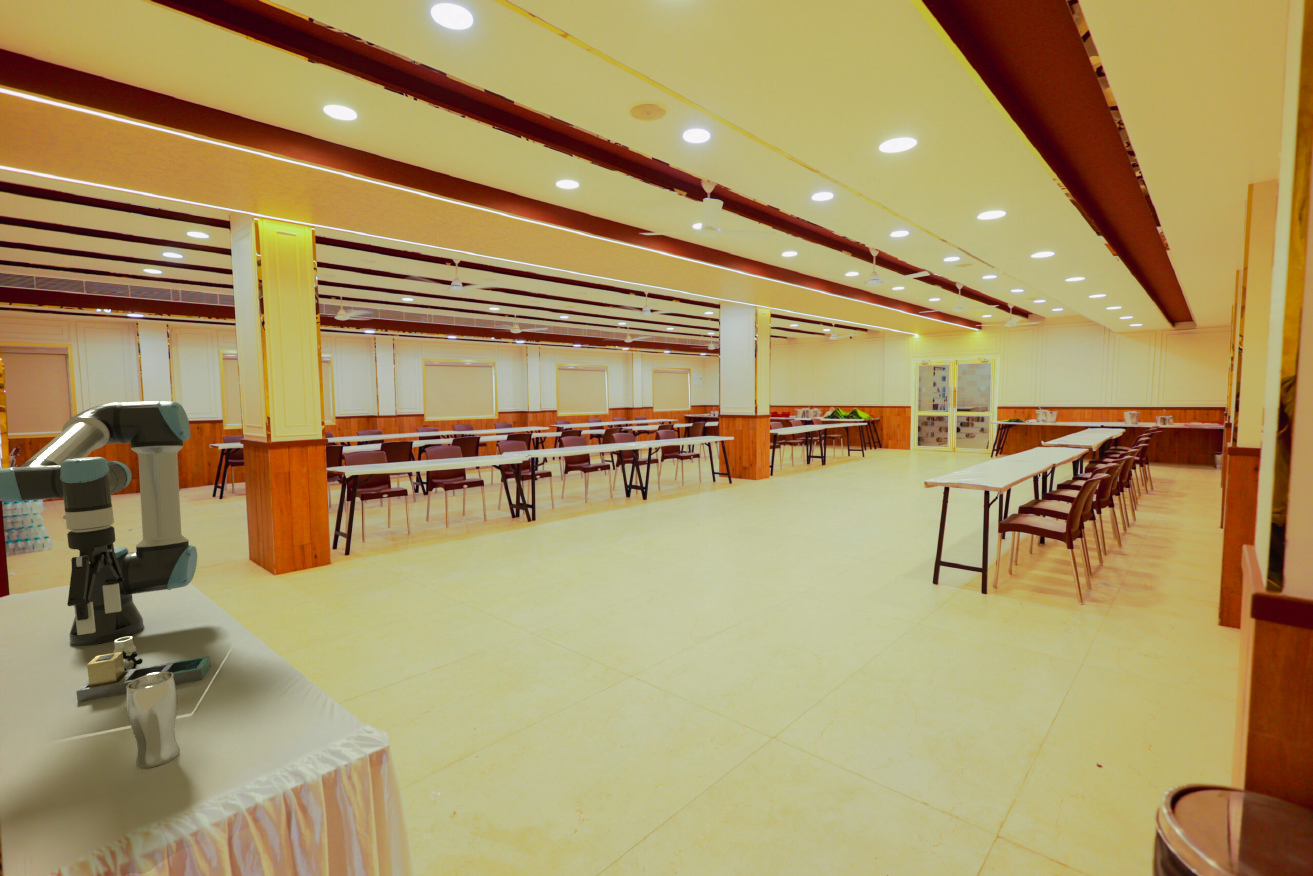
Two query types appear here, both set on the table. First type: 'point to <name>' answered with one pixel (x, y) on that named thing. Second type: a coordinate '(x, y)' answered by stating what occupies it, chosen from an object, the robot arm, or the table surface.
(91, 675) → the hollow square tube
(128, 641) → the valve
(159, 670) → the divided tray
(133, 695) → the beer glass
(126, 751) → the table surface
